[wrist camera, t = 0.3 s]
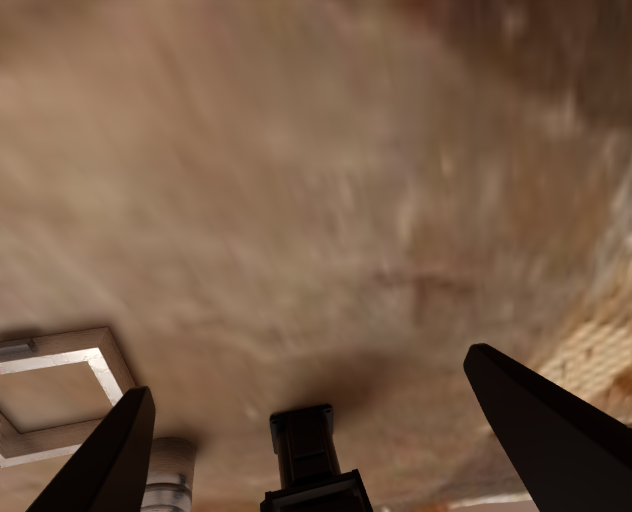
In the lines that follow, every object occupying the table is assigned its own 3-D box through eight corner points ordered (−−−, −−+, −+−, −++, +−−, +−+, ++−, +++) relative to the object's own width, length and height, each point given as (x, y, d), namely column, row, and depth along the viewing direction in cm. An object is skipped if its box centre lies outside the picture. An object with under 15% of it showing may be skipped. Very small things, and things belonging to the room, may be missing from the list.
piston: (201, 463, 35) (196, 532, 30) (140, 477, 34) (124, 550, 29) (189, 431, 31) (180, 502, 26) (121, 445, 30) (99, 521, 25)
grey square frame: (151, 416, 29) (145, 438, 28) (12, 443, 27) (-3, 468, 26) (104, 320, 23) (94, 341, 21) (-79, 346, 21) (-106, 371, 20)
